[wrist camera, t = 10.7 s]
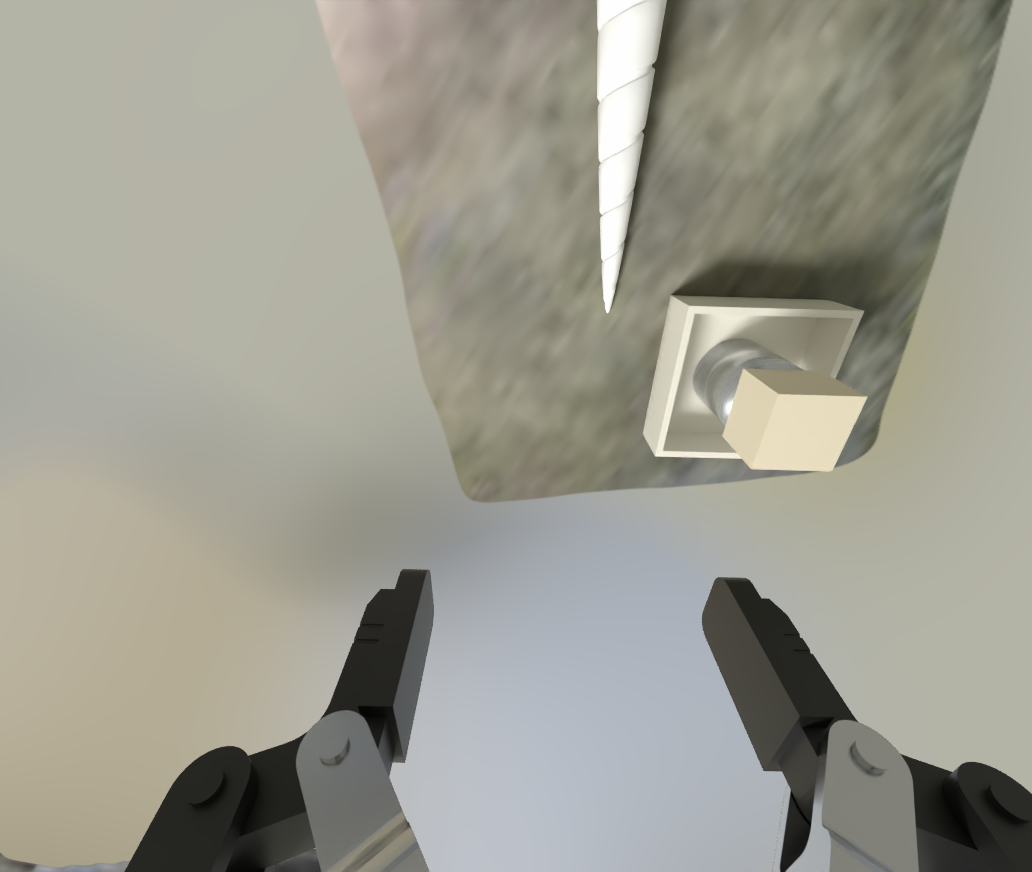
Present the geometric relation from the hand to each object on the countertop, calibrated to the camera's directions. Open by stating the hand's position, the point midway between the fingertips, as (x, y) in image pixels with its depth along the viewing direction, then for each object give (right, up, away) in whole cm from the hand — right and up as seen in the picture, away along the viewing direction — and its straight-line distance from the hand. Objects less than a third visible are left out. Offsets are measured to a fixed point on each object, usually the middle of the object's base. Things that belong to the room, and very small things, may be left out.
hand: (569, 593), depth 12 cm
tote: (+19, +11, +28) cm, 36 cm away
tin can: (+19, +10, +28) cm, 35 cm away
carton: (+19, +7, +22) cm, 30 cm away
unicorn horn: (+6, +27, +20) cm, 34 cm away
